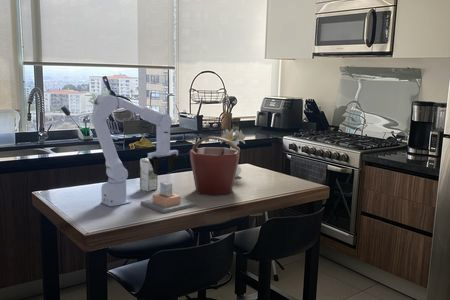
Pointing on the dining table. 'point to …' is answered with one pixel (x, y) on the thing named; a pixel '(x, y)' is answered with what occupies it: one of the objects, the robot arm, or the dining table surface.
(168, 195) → the steel block
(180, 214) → the dining table surface
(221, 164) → the bucket
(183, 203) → the well board
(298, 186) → the dining table surface
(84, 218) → the dining table surface
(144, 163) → the syrup box
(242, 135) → the flower vase
